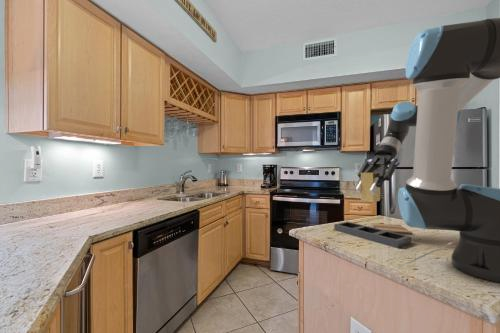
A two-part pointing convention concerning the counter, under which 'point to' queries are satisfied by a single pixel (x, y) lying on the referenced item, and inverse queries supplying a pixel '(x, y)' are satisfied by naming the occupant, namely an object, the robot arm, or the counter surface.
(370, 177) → the golden rectangular block
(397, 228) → the coaster
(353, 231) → the compartment tray
